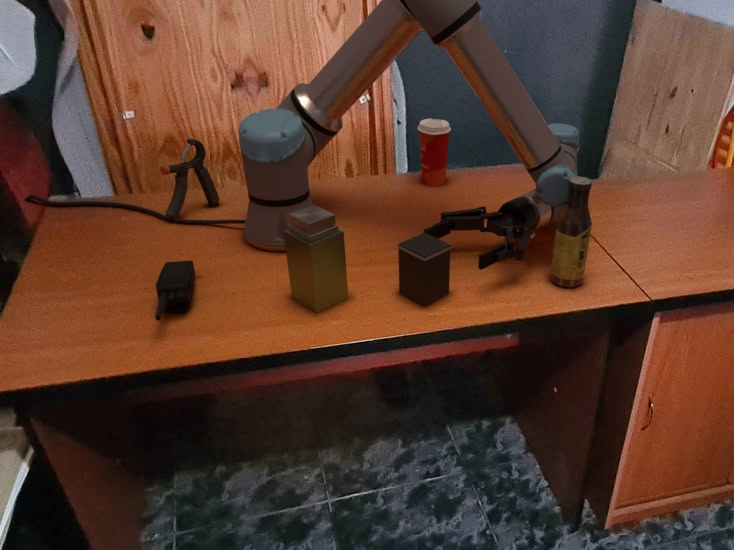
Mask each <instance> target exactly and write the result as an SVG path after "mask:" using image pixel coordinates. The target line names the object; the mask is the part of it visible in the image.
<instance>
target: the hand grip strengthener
mask: <svg viewBox="0 0 734 550" xmlns="http://www.w3.org/2000/svg"><path fill="white" fill-rule="evenodd" d="M186 143H187V144H186V146H185V148H184V149H183V152H182V154H181V156H180V160H181V161H180V163H176V164H171V165H161V166H159V171H160V173H161V175H163V176H166V175H171V174H175V175H174V182H175V183H174V189H173V192H172V197H171V199H170V202H169V204H168V207H167V209H166V211H165V212H164V215H166V216H165V217H166V218H168V219H170V220H172V219H173V218H178V217H179V216H180V214H181V212H182V209H183V206H184V204H185V199H186V196H187V193H188V188H189V187H188V186H189V184H188V183H189V182H188V175H189V170H190V169H193V172H194V173H195V176H196V178H197V180H198V182H199V184H200V186H201V189H202V191H203V194H204V197H205V199H206V201H207V204H208V206H209V207H212V208H215V207H217V206H219V205H220V201H221V199H220V196H219V194H218V193H219V192H218V191H217V188H216V185H215V183H214V181H213V179H212V177H211V174H210V171H209V170H208V167H206V166H205V165H204V162H205V159H206V155H207V153H206V149H205V146H204V144H203V143H202V141H200V140H198V139H194V138H187V139H186ZM192 146H194V147H195V154H194V157H193V158H192V159H190V160H189V161H187V159H188V156H189V155H190V152H191V149H192Z"/></svg>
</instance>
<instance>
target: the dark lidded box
mask: <svg viewBox="0 0 734 550" xmlns="http://www.w3.org/2000/svg"><path fill="white" fill-rule="evenodd" d="M397 249H398V293H399V295H401V296H403V297H405V298H406V299H408V300H410V301H412V302H414V303H416V304H418V305H420V306H421V307H423V308H426V307H428V306H429V305H431V304H433V303H435V302H437V301H438V300H440V299H442V298H445V297H446V296H448V295H450V280H451V279H450V278H451V277H450V275H451V250H452V244H450V243H448V242H446V241H443V240H442V239H440V238H439V239H437V238H435V237H433V236H431V235H429V234H427V233H424V232H422V233H420V234H418V235H415V236H413V237H411V238H407V239H406V240H404V241H401V242H399V243H398V244H397Z"/></svg>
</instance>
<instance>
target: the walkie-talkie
mask: <svg viewBox="0 0 734 550" xmlns="http://www.w3.org/2000/svg"><path fill="white" fill-rule="evenodd" d="M195 278H196V270H195V266H194V261H193V260H180V261H177V260H176V261H168V262H167V261H166V262H165V263H164V264H163V267H162V268H161V270H160V272H159V275H158V278H157V280H156V283H155V289H156V294H157V299H158V304H157V308H156V313H155V315H154V318H155V320H156V321H160V320H161V318H162V315H163V312H164V308H165V307H166V306H167V308H166V313H168V314H170V313H173V314H174V313H182V312H183V313H184V312H186V311H187V309H188V303H189V302H190V301H191V299H192V294H193V290H194V286H195V280H196V279H195Z"/></svg>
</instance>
